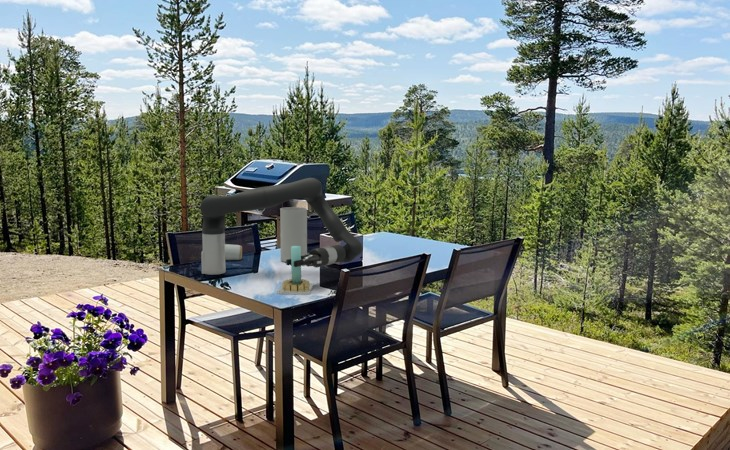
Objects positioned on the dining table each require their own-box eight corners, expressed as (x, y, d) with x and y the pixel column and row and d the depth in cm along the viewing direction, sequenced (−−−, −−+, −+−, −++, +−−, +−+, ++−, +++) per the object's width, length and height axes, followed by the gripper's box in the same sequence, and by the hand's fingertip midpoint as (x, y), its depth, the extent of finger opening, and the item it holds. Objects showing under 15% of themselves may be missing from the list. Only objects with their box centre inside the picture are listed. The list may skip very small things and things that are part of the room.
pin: (291, 283, 207) (290, 247, 204) (292, 281, 210) (291, 245, 208) (300, 283, 206) (299, 247, 204) (301, 281, 210) (301, 245, 208)
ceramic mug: (241, 261, 257) (241, 245, 256) (223, 261, 256) (223, 245, 255) (243, 257, 268) (242, 241, 267) (226, 257, 267) (225, 242, 266)
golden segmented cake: (277, 293, 202) (277, 286, 202) (283, 285, 215) (283, 277, 215) (309, 294, 202) (309, 286, 202) (313, 285, 215) (313, 278, 214)
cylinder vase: (291, 256, 270) (291, 206, 266) (312, 259, 263) (312, 208, 260) (275, 261, 259) (274, 209, 255) (296, 264, 253) (296, 211, 249)
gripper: (311, 245, 222) (278, 251, 209) (335, 249, 213) (303, 256, 200) (311, 263, 223) (278, 270, 210) (335, 268, 214) (303, 276, 201)
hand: (290, 263), depth 205 cm, fingers closed on pin, 3 cm apart
